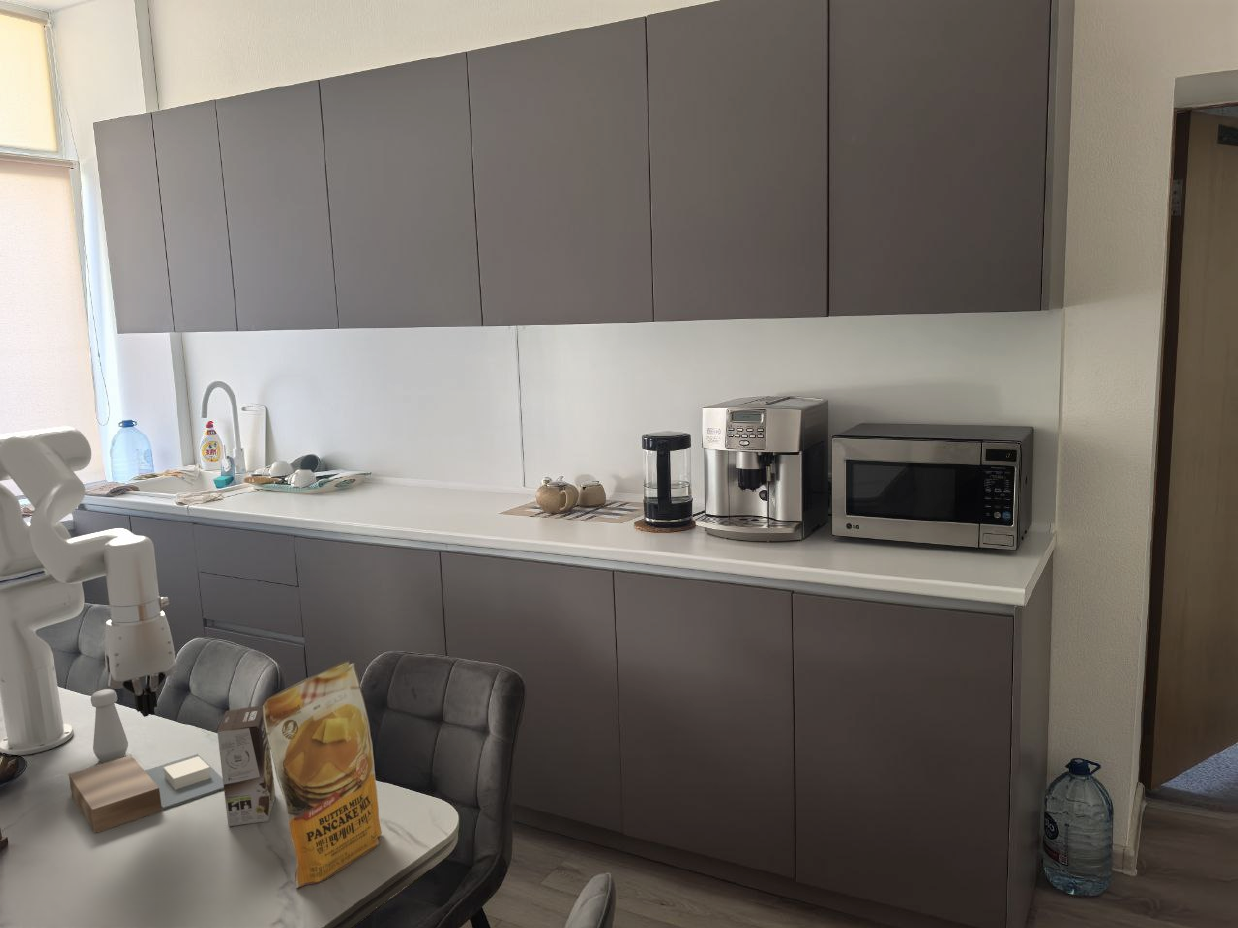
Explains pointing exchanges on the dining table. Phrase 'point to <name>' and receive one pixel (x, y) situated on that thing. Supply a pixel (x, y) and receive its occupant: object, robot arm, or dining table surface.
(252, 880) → the dining table surface
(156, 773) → the mat
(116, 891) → the dining table surface
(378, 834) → the pancake mix bag
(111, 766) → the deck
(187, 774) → the cream square block
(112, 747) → the salt shaker
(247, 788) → the coffee box
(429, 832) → the dining table surface
